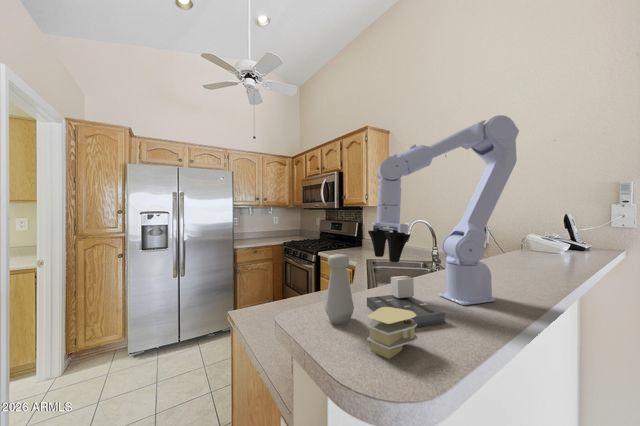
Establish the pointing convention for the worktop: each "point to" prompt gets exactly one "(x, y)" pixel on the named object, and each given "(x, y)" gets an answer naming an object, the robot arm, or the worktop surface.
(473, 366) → the worktop surface
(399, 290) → the white striped block
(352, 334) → the worktop surface
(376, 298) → the console
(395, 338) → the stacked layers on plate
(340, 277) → the salt shaker
